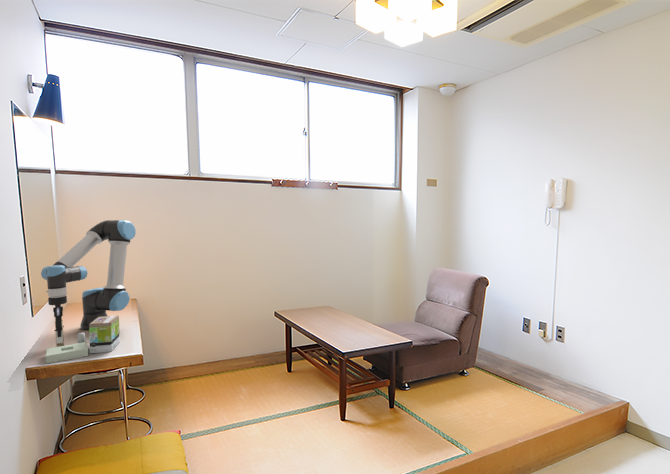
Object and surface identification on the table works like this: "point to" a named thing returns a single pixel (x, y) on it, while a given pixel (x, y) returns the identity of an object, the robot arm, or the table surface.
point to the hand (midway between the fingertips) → (59, 341)
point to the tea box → (104, 334)
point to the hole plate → (66, 352)
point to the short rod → (81, 337)
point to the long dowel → (63, 336)
